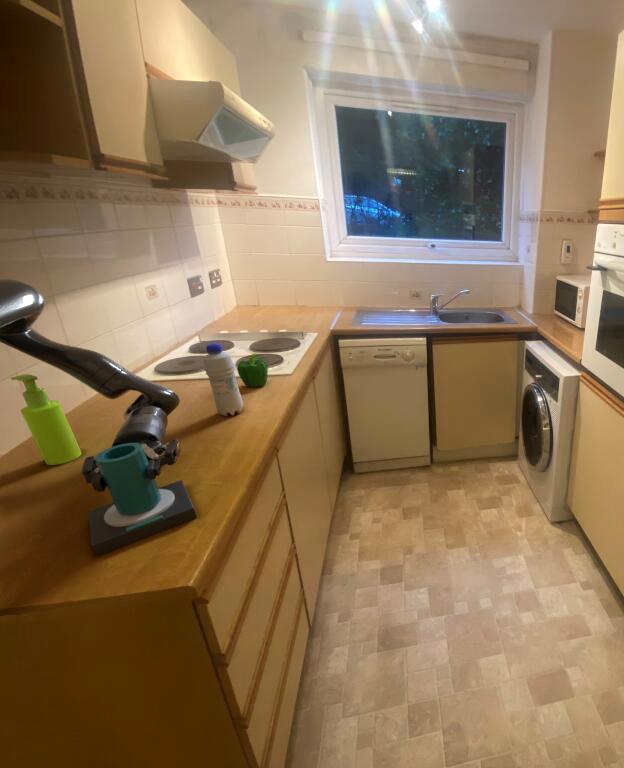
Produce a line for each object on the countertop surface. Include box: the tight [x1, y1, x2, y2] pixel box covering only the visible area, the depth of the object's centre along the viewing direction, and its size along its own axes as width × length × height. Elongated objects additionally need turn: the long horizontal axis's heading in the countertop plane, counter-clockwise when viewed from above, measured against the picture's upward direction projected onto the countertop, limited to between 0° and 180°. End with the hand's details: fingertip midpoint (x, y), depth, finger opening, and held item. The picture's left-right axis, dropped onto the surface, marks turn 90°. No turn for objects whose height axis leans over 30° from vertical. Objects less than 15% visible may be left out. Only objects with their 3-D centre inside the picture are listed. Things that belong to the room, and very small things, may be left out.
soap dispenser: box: [10, 373, 82, 466], centre depth 95 cm, size 6×7×20 cm
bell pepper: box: [237, 352, 269, 388], centre depth 137 cm, size 8×8×10 cm
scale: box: [88, 479, 198, 557], centre depth 79 cm, size 14×12×3 cm
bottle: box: [203, 342, 244, 417], centre depth 117 cm, size 7×7×20 cm
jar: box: [94, 443, 161, 515], centre depth 77 cm, size 6×6×11 cm
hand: (125, 480), depth 74 cm, fingers closed on jar, 6 cm apart
